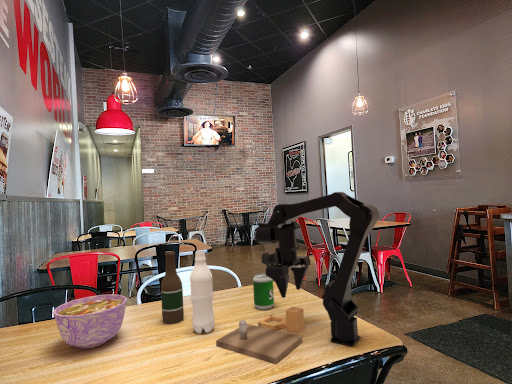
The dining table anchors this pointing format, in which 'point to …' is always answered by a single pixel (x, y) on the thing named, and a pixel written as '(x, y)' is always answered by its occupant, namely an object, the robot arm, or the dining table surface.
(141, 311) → the dining table surface
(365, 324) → the dining table surface
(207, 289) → the water bottle
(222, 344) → the board
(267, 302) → the soda can
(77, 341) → the bowl of food
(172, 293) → the beer bottle
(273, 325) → the square frame with handle
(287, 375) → the dining table surface
